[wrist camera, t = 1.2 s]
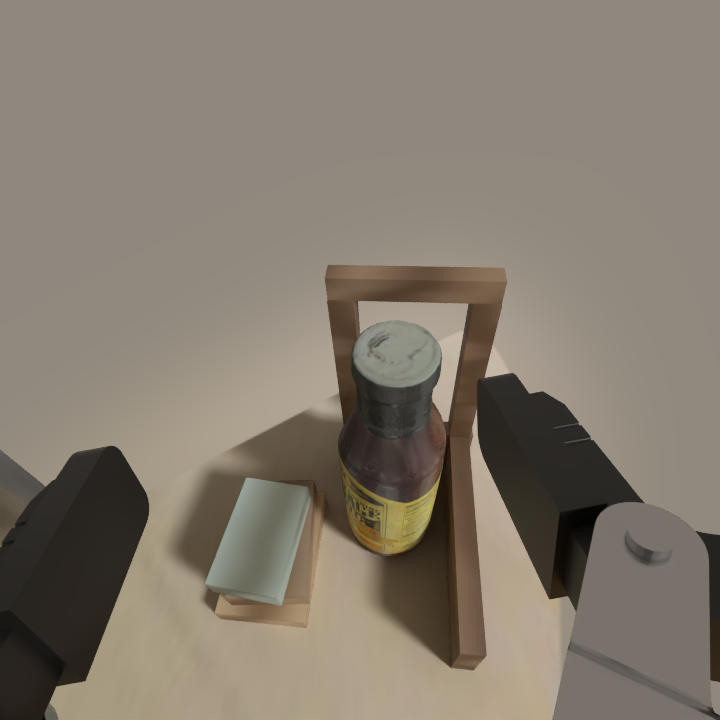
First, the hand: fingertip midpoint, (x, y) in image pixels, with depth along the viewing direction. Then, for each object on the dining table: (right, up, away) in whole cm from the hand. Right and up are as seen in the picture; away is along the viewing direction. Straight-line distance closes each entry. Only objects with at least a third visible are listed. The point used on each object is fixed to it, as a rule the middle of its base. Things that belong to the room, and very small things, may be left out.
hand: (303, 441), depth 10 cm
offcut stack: (-5, -13, +23) cm, 27 cm away
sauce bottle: (+4, -11, +25) cm, 27 cm away
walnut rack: (+4, -12, +24) cm, 27 cm away
